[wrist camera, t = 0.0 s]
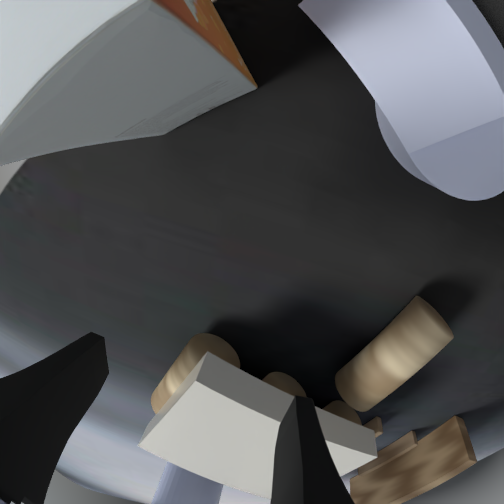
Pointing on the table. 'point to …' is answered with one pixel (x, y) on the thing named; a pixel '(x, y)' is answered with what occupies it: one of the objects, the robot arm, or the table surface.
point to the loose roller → (393, 355)
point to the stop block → (417, 467)
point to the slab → (240, 429)
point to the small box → (109, 71)
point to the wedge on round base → (428, 85)
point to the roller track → (276, 379)
